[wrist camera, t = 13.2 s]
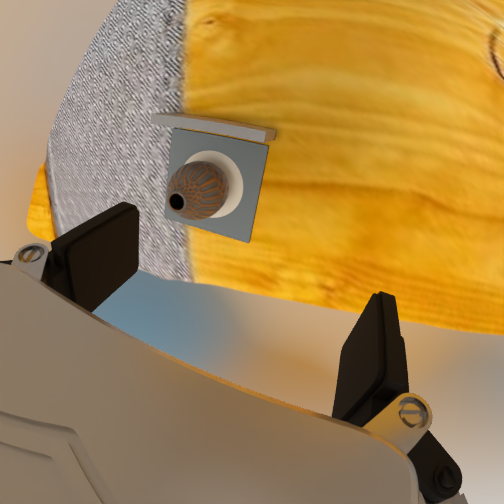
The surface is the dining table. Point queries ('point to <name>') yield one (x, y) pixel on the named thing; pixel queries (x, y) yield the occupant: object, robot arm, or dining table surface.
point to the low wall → (215, 126)
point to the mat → (236, 170)
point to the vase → (197, 190)
